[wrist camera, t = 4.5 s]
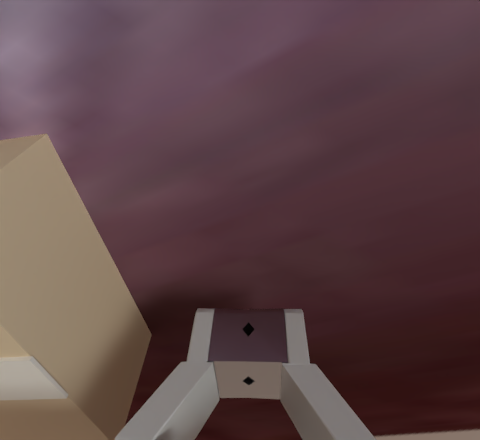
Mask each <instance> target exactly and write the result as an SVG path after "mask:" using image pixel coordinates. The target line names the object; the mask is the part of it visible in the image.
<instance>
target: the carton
mask: <svg viewBox="0 0 480 440" xmlns="http://www.w3.org/2000/svg"><path fill="white" fill-rule="evenodd" d="M151 336H152V334H151V332H150V330H149V328H148V327H147V325H146V323H145V321H144V319H143V317H142V315H141V313H140V311H139V309H138V307H137V305H136V304H135V302H134V300H133V298H132V296H131V294H130V292H129V290H128V288H127V286H126V284H125V282H124V281H123V279H122V277H121V275H120V273H119V271H118V269H117V267H116V265H115V263H114V261H113V260H112V258H111V256H110V254H109V252H108V250H107V248H106V246H105V244H104V242H103V240H102V238H101V237H100V235H99V233H98V231H97V229H96V227H95V225H94V223H93V221H92V219H91V217H90V215H89V214H88V212H87V210H86V208H85V206H84V204H83V202H82V200H81V198H80V196H79V194H78V192H77V191H76V189H75V187H74V185H73V183H72V181H71V179H70V177H69V175H68V173H67V171H66V170H65V168H64V166H63V164H62V162H61V160H60V158H59V156H58V154H57V152H56V150H55V148H54V147H53V145H52V143H51V141H50V139H49V137H48V135H47V134H41V135H34V136H27V137H20V138H13V139H6V140H0V440H115V437H116V436H117V435H118V433H119V432H120V431H121V430H122V429H123V428H124V427H125V423H126V420H127V417H128V413H129V410H130V407H131V403H132V400H133V396H134V393H135V390H136V386H137V383H138V379H139V376H140V373H141V369H142V366H143V363H144V359H145V356H146V352H147V349H148V346H149V342H150V339H151Z"/></svg>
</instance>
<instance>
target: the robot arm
mask: <svg viewBox="0 0 480 440" xmlns="http://www.w3.org/2000/svg"><path fill="white" fill-rule="evenodd" d="M219 398H263V399H281V400H280V401H281V403H282V405H283V406H284V408H285V410H286V412H287V413H288V415H289V417H290V419H291V420H292V422H293V424H294V426H295V427H296V429H297V431H298V432H299V434H300V436H301V438H302V439H303V440H376V439H375V438H374V436H373V435H372V434H371V433H370V431H369V430H368V429H367V428H366V426H365V425H364V424H363V423H362V421H361V420H360V419H359V418H358V416H357V415H356V414H355V413H354V411H353V410H352V409H351V408H350V406H349V405H348V404H347V403H346V401H345V400H344V399H343V398H342V396H341V395H340V394H339V393H338V391H337V390H336V389H335V388H334V386H333V385H332V384H331V383H330V381H329V380H328V379H327V377H326V376H325V375H324V374H323V372H322V371H321V370H320V369H319V367H318V366H317V365H316V364H310V359H309V352H308V344H307V337H306V329H305V322H304V314H303V311H302V309H249V310H248V309H216V308H198V309H197V311H196V313H195V318H194V323H193V329H192V334H191V339H190V345H189V350H188V355H187V361H186V362H180V363H179V365H178V366H177V367H176V368H175V369H174V370H173V372H172V373H171V374H170V375H169V376H168V377H167V378H166V380H165V381H164V382H163V383H162V384H161V385H160V386H159V388H158V389H157V390H156V391H155V392H154V393H153V394H152V396H151V397H150V398H149V399H148V400H147V401H146V402H145V404H144V405H143V406H142V407H141V408H140V409H139V411H138V412H137V413H136V414H135V415H134V416H133V417H132V419H131V420H130V421H129V422H128V423H127V424H126V425H125V427H124V428H123V429H122V430H121V431H120V432H119V433H118V435H117V436H116V437H115V440H195V439H196V437H197V435H198V434H199V432H200V431H201V429H202V427H203V426H204V424H205V423H206V421H207V419H208V418H209V416H210V415H211V413H212V411H213V410H214V408H215V407H216V405H217V403H218V402H219Z"/></svg>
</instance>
